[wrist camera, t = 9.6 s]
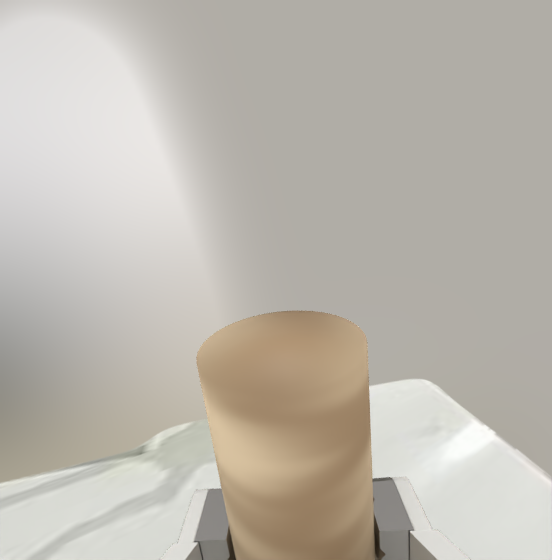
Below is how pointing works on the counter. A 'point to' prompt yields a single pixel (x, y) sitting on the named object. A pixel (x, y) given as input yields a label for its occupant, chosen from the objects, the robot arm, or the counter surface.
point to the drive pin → (292, 435)
